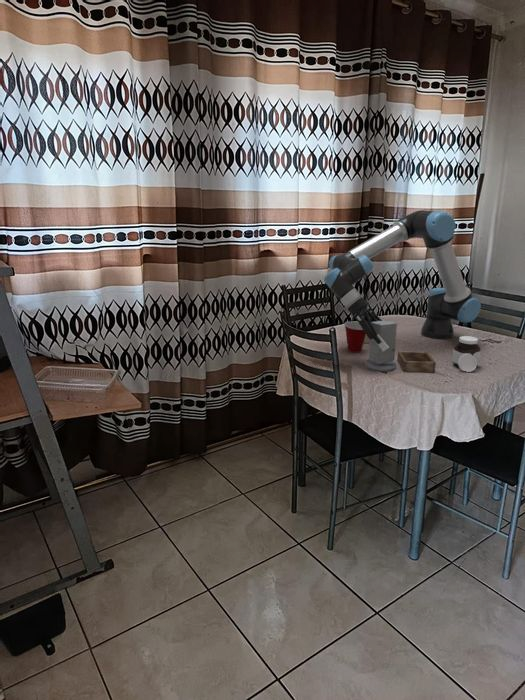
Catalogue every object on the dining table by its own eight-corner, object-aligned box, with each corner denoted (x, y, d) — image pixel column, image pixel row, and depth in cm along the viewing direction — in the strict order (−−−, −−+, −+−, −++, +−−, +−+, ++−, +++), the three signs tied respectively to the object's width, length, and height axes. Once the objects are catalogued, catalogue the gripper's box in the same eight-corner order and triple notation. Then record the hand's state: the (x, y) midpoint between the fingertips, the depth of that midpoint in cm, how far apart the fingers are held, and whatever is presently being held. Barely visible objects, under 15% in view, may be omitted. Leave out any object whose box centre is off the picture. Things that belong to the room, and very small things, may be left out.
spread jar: (468, 361, 203) (472, 334, 200) (488, 370, 193) (492, 342, 190) (444, 364, 200) (447, 337, 196) (463, 374, 190) (467, 345, 186)
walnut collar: (426, 361, 203) (427, 352, 202) (434, 372, 191) (435, 362, 190) (397, 360, 204) (398, 351, 203) (403, 371, 192) (404, 361, 191)
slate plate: (392, 361, 203) (393, 358, 203) (398, 371, 192) (398, 368, 191) (363, 360, 204) (363, 358, 203) (367, 371, 192) (367, 368, 192)
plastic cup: (362, 355, 210) (364, 328, 206) (338, 351, 215) (340, 325, 212) (371, 349, 219) (373, 323, 215) (348, 345, 224) (350, 319, 220)
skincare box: (379, 364, 192) (381, 325, 187) (367, 359, 198) (369, 321, 193) (395, 361, 196) (398, 322, 191) (383, 355, 202) (386, 318, 197)
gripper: (356, 302, 207) (390, 343, 205) (337, 314, 188) (374, 359, 186) (369, 291, 203) (404, 333, 201) (351, 302, 184) (389, 348, 182)
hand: (389, 345), depth 193 cm, fingers closed on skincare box, 10 cm apart
